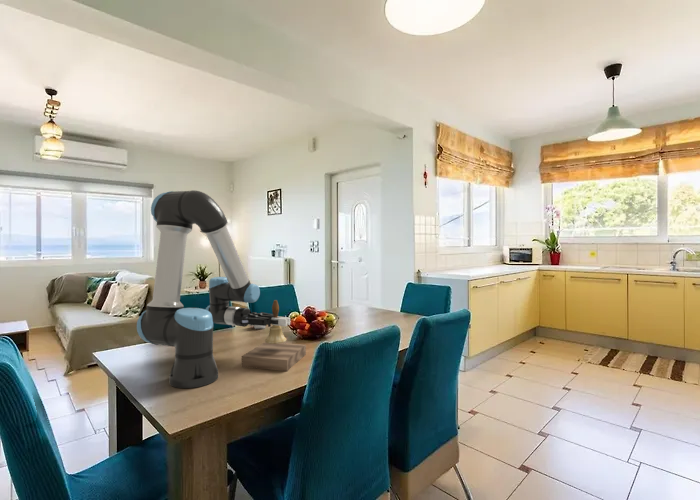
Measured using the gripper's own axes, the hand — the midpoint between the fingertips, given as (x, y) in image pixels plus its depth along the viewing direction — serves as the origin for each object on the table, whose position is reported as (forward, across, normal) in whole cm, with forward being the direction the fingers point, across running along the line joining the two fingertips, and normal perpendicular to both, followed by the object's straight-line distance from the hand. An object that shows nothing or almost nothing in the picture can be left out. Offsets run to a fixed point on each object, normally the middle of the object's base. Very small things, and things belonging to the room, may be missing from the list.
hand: (287, 322), depth 141 cm
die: (-43, -41, -16) cm, 62 cm away
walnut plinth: (-6, 0, -16) cm, 17 cm away
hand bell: (-6, 0, -8) cm, 10 cm away
